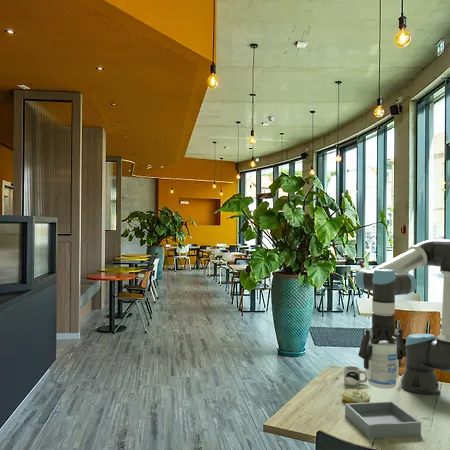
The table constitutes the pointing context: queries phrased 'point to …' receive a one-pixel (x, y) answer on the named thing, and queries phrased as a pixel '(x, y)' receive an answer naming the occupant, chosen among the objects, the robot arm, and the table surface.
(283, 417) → the table surface
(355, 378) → the mug
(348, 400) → the decorated donut
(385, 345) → the supplement tub
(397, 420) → the bin
